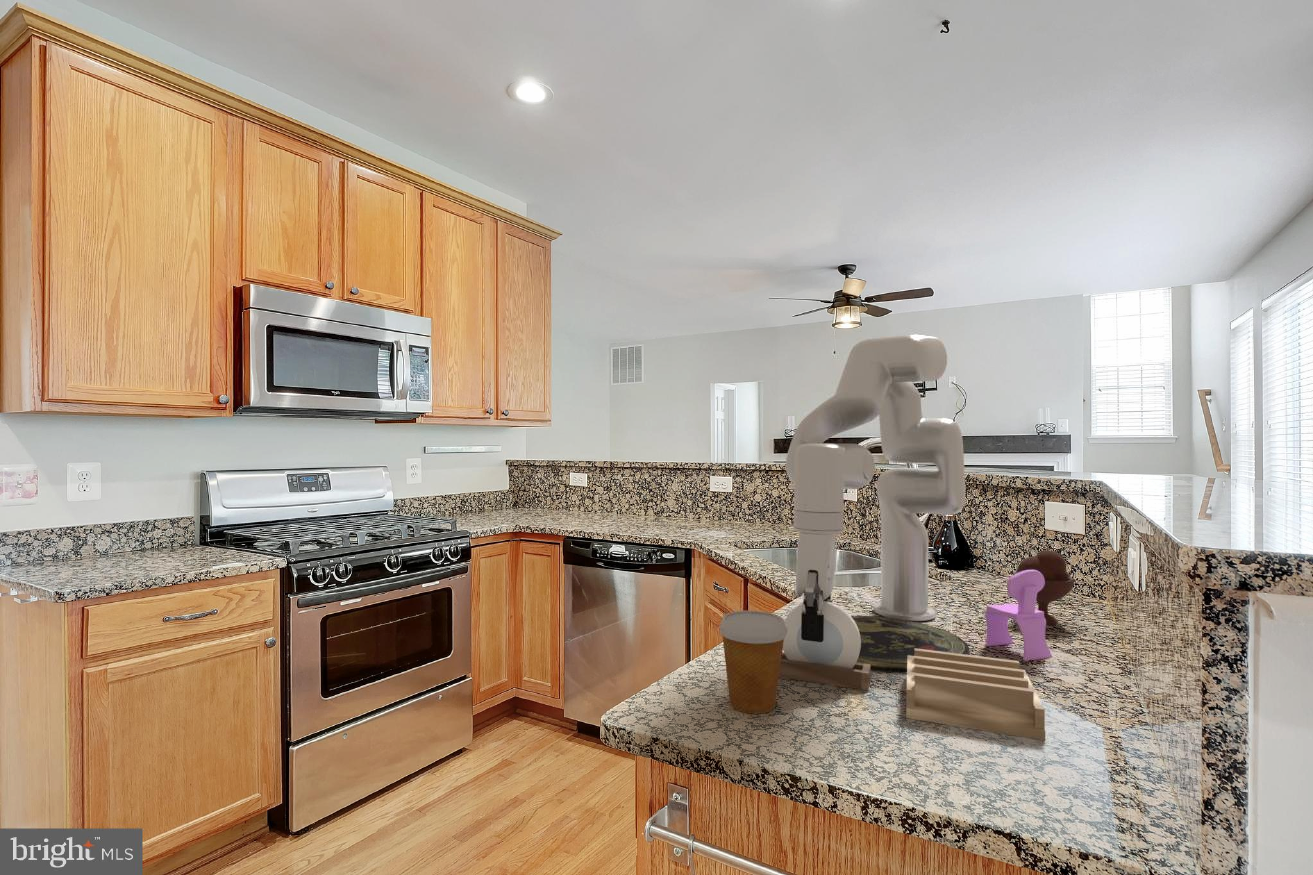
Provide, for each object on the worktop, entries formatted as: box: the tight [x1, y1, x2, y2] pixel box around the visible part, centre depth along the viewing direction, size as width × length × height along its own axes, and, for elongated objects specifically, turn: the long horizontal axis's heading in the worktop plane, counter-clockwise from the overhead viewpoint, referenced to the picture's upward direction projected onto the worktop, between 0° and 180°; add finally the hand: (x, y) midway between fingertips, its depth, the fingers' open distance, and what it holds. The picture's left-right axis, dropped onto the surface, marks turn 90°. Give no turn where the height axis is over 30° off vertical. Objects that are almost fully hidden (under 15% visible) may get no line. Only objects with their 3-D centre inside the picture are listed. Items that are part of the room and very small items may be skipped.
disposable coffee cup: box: [718, 610, 788, 715], centre depth 87 cm, size 10×10×12 cm
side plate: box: [782, 600, 861, 669], centre depth 98 cm, size 2×12×12 cm, turn 68°
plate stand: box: [779, 652, 871, 691], centre depth 98 cm, size 4×15×2 cm, turn 68°
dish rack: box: [905, 648, 1046, 741], centre depth 88 cm, size 16×16×5 cm
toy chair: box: [984, 570, 1053, 661], centre depth 112 cm, size 8×9×15 cm
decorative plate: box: [850, 614, 971, 674], centre depth 115 cm, size 30×2×30 cm
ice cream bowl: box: [1012, 549, 1076, 626], centre depth 131 cm, size 11×11×15 cm
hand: (817, 632), depth 97 cm, fingers open, 9 cm apart
